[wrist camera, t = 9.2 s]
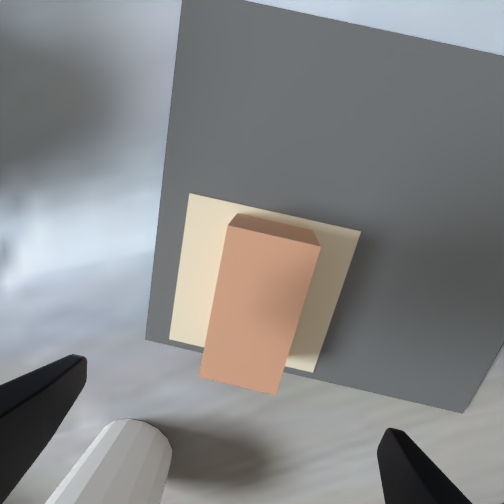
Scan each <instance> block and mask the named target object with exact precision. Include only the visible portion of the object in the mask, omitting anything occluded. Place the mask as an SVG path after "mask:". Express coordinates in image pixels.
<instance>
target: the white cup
mask: <svg viewBox="0 0 504 504" xmlns="http://www.w3.org/2000/svg"><path fill="white" fill-rule="evenodd" d="M171 458H172V448H171V446H170V444H169V441H168V439H167V438H166V437H165V436H164V435H163V434H162V433H161V432H160V431H159V430H158V429H157V428H155V427H153V426H151V425H150V424H148V423H146V422H144V421H138V420H133V419H123V420H115V421H113V422H112V423H110V424H108V425H107V426H105V427H104V428H103V430H102V431H101V432H100V433H99V435H98V436H97V437H96V438H95V440H94V441H93V442H92V444H91V445H90V446H89V447H88V449H87V450H86V451H85V453H84V454H83V455H82V456H81V458H80V459H79V460H78V462H77V463H76V464H75V465H74V467H73V468H72V469H71V471H70V472H69V473H68V474H67V476H66V477H65V478H64V480H63V481H62V482H61V483H60V485H59V486H58V487H57V489H56V490H55V491H54V492H53V494H52V495H51V496H50V497H49V499H48V500H47V501H46V503H45V504H160V502H161V498H162V494H163V491H164V487H165V483H166V479H167V475H168V471H169V468H170V464H171Z"/></svg>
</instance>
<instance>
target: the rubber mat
mask: <svg viewBox="0 0 504 504" xmlns="http://www.w3.org/2000/svg"><path fill="white" fill-rule="evenodd" d="M237 213H239V214H243V215H247V216H252V217H256V218H261V219H265V220H269V221H274V222H278V223H282V224H287V225H291V226H296V227H300V228H304V229H309V230H313V232H314V234H315V236H316V238H317V240H318V242H319V244H320V245H321V249H320V252H319V255H318V259H317V262H316V265H315V268H314V272H313V275H312V278H311V282H310V285H309V288H308V292H307V295H306V298H305V301H304V305H303V308H302V311H301V315H300V318H299V321H298V324H297V328H296V331H295V334H294V338H293V341H292V344H291V347H290V351H289V354H288V357H287V361H286V364H285V367H284V370H283V372H287V373H291V374H295V375H300V376H304V377H308V378H312V379H317V380H321V381H325V382H330V383H334V384H338V385H343V386H347V387H351V388H355V389H360V390H364V391H368V392H373V393H377V394H381V395H385V396H390V397H394V398H398V399H403V400H407V401H411V402H415V403H420V404H424V405H428V406H433V407H437V408H441V409H446V410H450V411H454V412H458V413H463V412H464V411H465V409H466V407H467V405H468V404H469V402H470V400H471V398H472V397H473V395H474V393H475V391H476V390H477V388H478V386H479V384H480V383H481V381H482V379H483V378H484V376H485V374H486V372H487V371H488V369H489V367H490V365H491V364H492V362H493V360H494V358H495V357H496V355H497V353H498V351H499V350H500V348H501V346H502V344H503V343H504V56H501V55H496V54H492V53H487V52H482V51H478V50H473V49H468V48H464V47H459V46H454V45H450V44H445V43H440V42H436V41H431V40H426V39H422V38H417V37H412V36H408V35H403V34H398V33H394V32H389V31H384V30H380V29H375V28H370V27H366V26H361V25H356V24H352V23H347V22H342V21H338V20H333V19H328V18H324V17H319V16H314V15H310V14H305V13H300V12H296V11H291V10H286V9H282V8H277V7H272V6H268V5H263V4H258V3H254V2H249V1H244V0H182V7H181V16H180V25H179V34H178V43H177V52H176V62H175V71H174V80H173V89H172V98H171V107H170V117H169V126H168V135H167V144H166V153H165V162H164V171H163V181H162V190H161V199H160V208H159V217H158V226H157V236H156V245H155V254H154V263H153V272H152V281H151V291H150V300H149V309H148V318H147V327H146V336H145V340H149V341H154V342H158V343H162V344H167V345H171V346H175V347H179V348H184V349H188V350H192V351H197V352H201V353H203V351H204V346H205V341H206V336H207V330H208V325H209V320H210V315H211V310H212V304H213V299H214V294H215V289H216V283H217V278H218V273H219V268H220V262H221V257H222V252H223V247H224V242H225V236H226V231H227V226H228V224H229V223H230V222H231V220H232V219H233V218H234V216H235V215H236V214H237Z"/></svg>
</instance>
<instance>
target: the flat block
mask: <svg viewBox="0 0 504 504" xmlns="http://www.w3.org/2000/svg"><path fill="white" fill-rule="evenodd" d="M320 249H321V245H320V244H319V242H318V240H317V238H316V236H315V234H314V232H313V230H309V229H304V228H300V227H296V226H291V225H287V224H282V223H278V222H274V221H269V220H265V219H261V218H256V217H252V216H247V215H243V214H239V213H237V214H236V215H235V216H234V218H233V219H232V220H231V222H230V223H229V224H228V226H227V231H226V236H225V242H224V247H223V252H222V257H221V262H220V268H219V273H218V278H217V283H216V289H215V294H214V299H213V304H212V310H211V315H210V320H209V325H208V330H207V336H206V341H205V346H204V351H203V357H202V362H201V367H200V372H199V377H201V378H205V379H209V380H214V381H218V382H222V383H226V384H230V385H235V386H239V387H243V388H247V389H252V390H256V391H260V392H264V393H268V394H273V395H276V393H277V390H278V387H279V384H280V380H281V377H282V374H283V370H284V367H285V364H286V361H287V357H288V354H289V351H290V347H291V344H292V341H293V338H294V334H295V331H296V328H297V324H298V321H299V318H300V315H301V311H302V308H303V305H304V301H305V298H306V295H307V292H308V288H309V285H310V282H311V278H312V275H313V272H314V268H315V265H316V262H317V259H318V255H319V252H320Z"/></svg>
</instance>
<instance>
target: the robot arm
mask: <svg viewBox="0 0 504 504" xmlns="http://www.w3.org/2000/svg"><path fill="white" fill-rule="evenodd" d="M86 379H87V359H86V357H84V356H80V355H75V354H72V355H68V356H66V357H64V358H62V359H59V360H57V361H55V362H52V363H50V364H48V365H46V366H43V367H41V368H39V369H36V370H34V371H32V372H30V373H27V374H25V375H23V376H20V377H18V378H16V379H14V380H11V381H9V382H7V383H4V384H2V385H0V504H2V503H3V502H4V501H5V499H6V498H7V497H8V496H9V494H10V493H11V492H12V490H13V489H14V488H15V486H16V485H17V484H18V482H19V481H20V480H21V478H22V477H23V476H24V474H25V473H26V472H27V470H28V469H29V468H30V467H31V465H32V464H33V463H34V461H35V460H36V459H37V457H38V456H39V455H40V453H41V452H42V451H43V449H44V448H45V447H46V445H47V444H48V442H49V441H50V440H51V438H52V437H53V435H54V434H55V432H56V431H57V429H58V427H59V426H60V424H61V423H62V421H63V419H64V418H65V416H66V415H67V413H68V411H69V410H70V408H71V407H72V405H73V403H74V402H75V400H76V399H77V397H78V395H79V394H80V392H81V391H82V389H83V387H84V385H85V383H86ZM377 458H378V464H379V469H380V475H381V481H382V487H383V493H384V498H385V504H472V503H471V502H470V501H469V500H468V499H467V498H466V496H465V495H464V494H463V493H462V492H461V491H460V490H459V489H458V488H457V487H456V486H455V485H454V484H453V483H452V482H451V481H450V480H449V479H448V477H447V476H446V475H445V474H444V473H443V472H442V471H441V470H440V469H439V468H438V467H437V466H436V465H435V464H434V463H433V462H432V461H431V460H430V458H429V457H428V456H427V455H426V454H425V453H424V452H423V451H422V450H421V449H420V448H419V447H418V446H417V445H416V444H415V443H414V442H413V441H412V439H411V438H410V437H409V436H408V435H407V434H406V433H405V432H403V431H402V430H398V429H394V428H388V429H387V430H386V431H385V433H384V435H383V437H382V440H381V442H380V444H379V446H378V449H377Z"/></svg>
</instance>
